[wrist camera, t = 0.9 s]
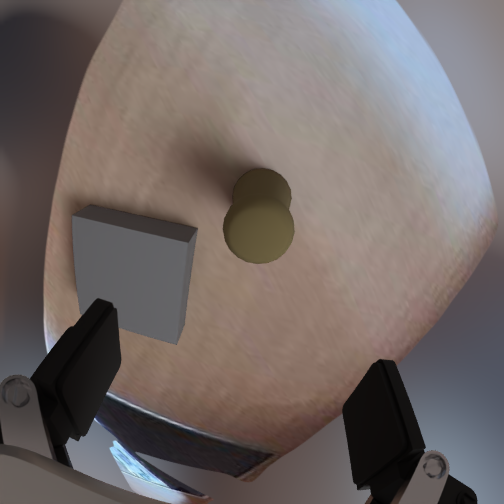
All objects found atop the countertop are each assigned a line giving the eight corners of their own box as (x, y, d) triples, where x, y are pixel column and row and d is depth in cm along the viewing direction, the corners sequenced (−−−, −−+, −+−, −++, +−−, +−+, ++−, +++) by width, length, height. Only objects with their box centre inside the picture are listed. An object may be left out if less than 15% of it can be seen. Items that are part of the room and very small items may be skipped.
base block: (90, 204, 31) (71, 215, 27) (197, 228, 32) (188, 243, 28) (93, 297, 37) (80, 313, 33) (184, 324, 38) (176, 344, 34)
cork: (254, 235, 32) (246, 290, 22) (221, 189, 30) (196, 226, 20) (302, 205, 30) (318, 249, 20) (270, 156, 28) (270, 176, 18)
